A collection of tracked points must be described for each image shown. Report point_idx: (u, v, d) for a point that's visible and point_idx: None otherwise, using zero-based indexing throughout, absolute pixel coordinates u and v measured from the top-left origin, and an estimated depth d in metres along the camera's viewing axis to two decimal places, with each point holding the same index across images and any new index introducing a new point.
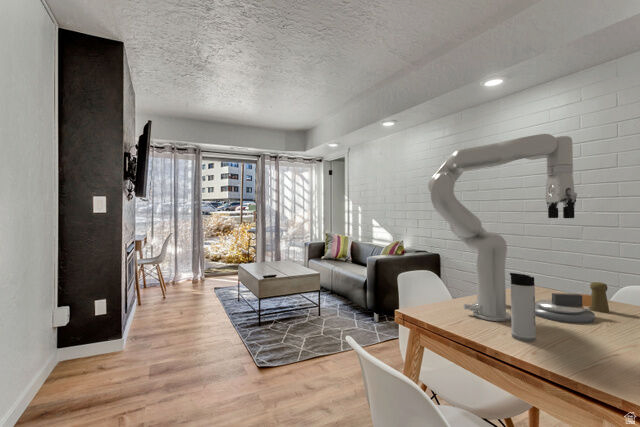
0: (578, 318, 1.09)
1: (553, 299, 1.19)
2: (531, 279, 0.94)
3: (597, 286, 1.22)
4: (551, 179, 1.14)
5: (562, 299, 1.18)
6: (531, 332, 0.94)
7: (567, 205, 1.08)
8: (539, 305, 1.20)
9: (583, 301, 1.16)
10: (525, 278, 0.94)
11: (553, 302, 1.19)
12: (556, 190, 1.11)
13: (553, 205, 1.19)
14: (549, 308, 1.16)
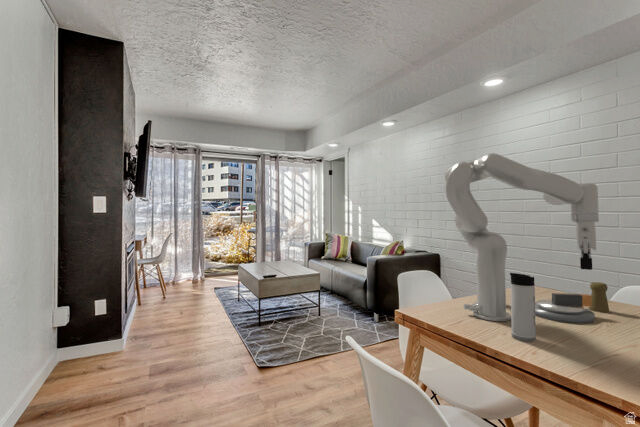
0: (578, 318, 1.09)
1: (553, 299, 1.19)
2: (531, 279, 0.94)
3: (597, 286, 1.22)
4: None
5: (562, 299, 1.18)
6: (531, 332, 0.94)
7: None
8: (539, 305, 1.20)
9: (583, 301, 1.16)
10: (525, 278, 0.94)
11: (553, 302, 1.19)
12: None
13: None
14: (549, 308, 1.16)
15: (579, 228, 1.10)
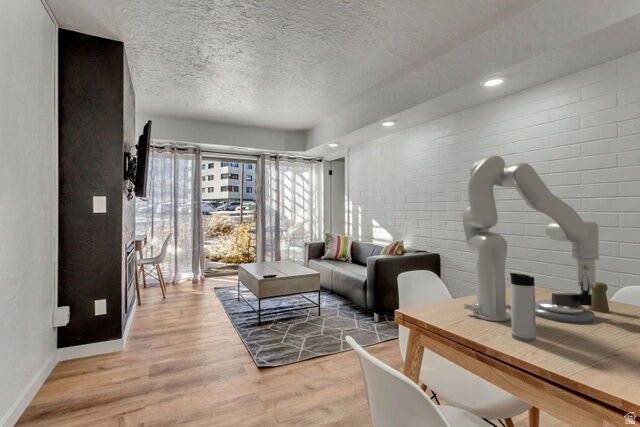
0: (578, 318, 1.09)
1: (553, 299, 1.19)
2: (530, 279, 0.94)
3: (597, 286, 1.22)
4: None
5: (562, 299, 1.18)
6: (531, 332, 0.94)
7: None
8: (541, 306, 1.19)
9: None
10: (525, 278, 0.94)
11: (553, 302, 1.19)
12: None
13: (584, 291, 1.15)
14: (552, 309, 1.15)
15: (579, 265, 1.13)
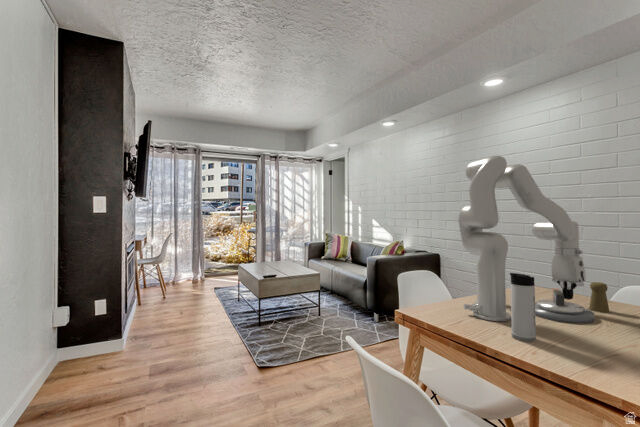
0: (578, 318, 1.09)
1: (559, 300, 1.17)
2: (531, 279, 0.94)
3: (597, 286, 1.22)
4: None
5: None
6: (531, 332, 0.94)
7: None
8: (562, 310, 1.13)
9: None
10: (525, 278, 0.94)
11: (559, 304, 1.17)
12: None
13: None
14: (576, 311, 1.12)
15: (577, 263, 1.19)
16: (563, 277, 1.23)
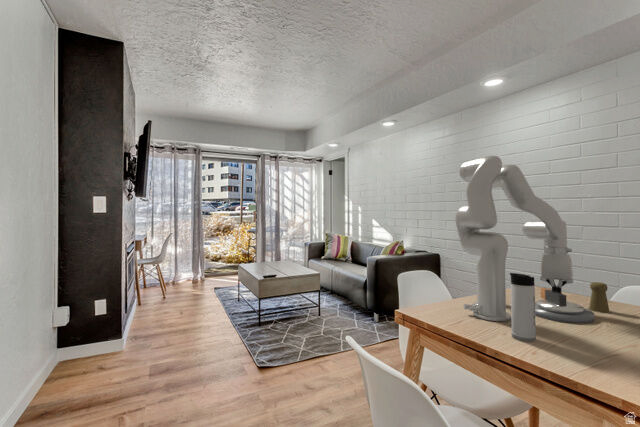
0: (578, 318, 1.09)
1: (562, 301, 1.17)
2: (531, 279, 0.94)
3: (597, 286, 1.22)
4: None
5: None
6: (531, 332, 0.94)
7: None
8: (572, 311, 1.12)
9: None
10: (525, 278, 0.94)
11: (562, 304, 1.17)
12: None
13: None
14: (582, 310, 1.13)
15: (569, 261, 1.22)
16: (555, 275, 1.24)
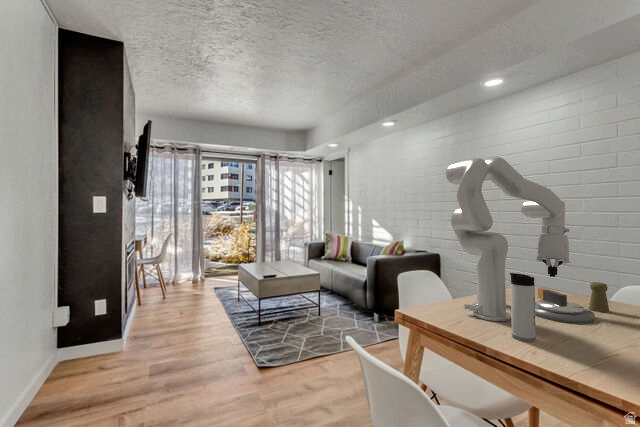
0: (578, 318, 1.09)
1: (563, 301, 1.17)
2: (531, 279, 0.94)
3: (597, 286, 1.22)
4: None
5: None
6: (531, 332, 0.94)
7: None
8: (574, 311, 1.12)
9: None
10: (525, 278, 0.94)
11: (563, 304, 1.17)
12: None
13: (555, 264, 1.25)
14: (583, 310, 1.13)
15: (566, 240, 1.22)
16: (551, 255, 1.25)
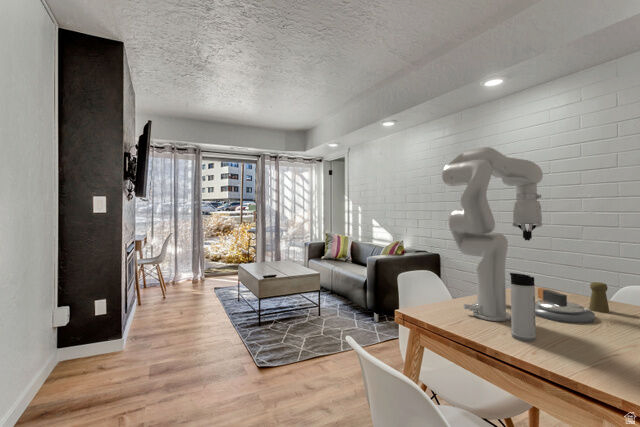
0: (578, 318, 1.09)
1: (563, 301, 1.17)
2: (531, 279, 0.94)
3: (597, 286, 1.22)
4: None
5: None
6: (531, 332, 0.94)
7: None
8: (574, 311, 1.12)
9: None
10: (525, 278, 0.94)
11: (563, 304, 1.17)
12: None
13: None
14: (583, 310, 1.13)
15: (538, 205, 1.32)
16: (525, 220, 1.34)
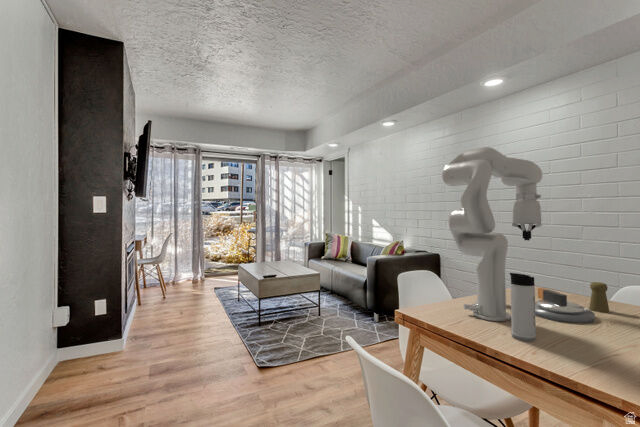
0: (578, 318, 1.09)
1: (563, 301, 1.17)
2: (530, 279, 0.94)
3: (597, 286, 1.22)
4: None
5: None
6: (531, 332, 0.94)
7: None
8: (574, 311, 1.12)
9: None
10: (525, 278, 0.94)
11: (563, 304, 1.17)
12: None
13: None
14: (583, 310, 1.13)
15: (538, 205, 1.32)
16: (525, 220, 1.34)
